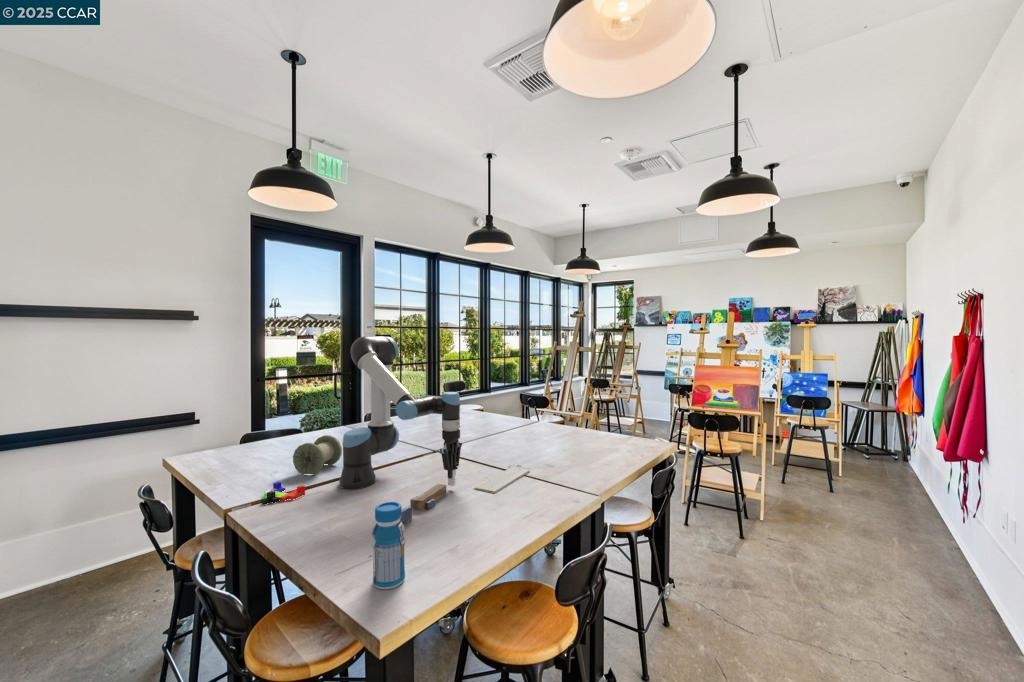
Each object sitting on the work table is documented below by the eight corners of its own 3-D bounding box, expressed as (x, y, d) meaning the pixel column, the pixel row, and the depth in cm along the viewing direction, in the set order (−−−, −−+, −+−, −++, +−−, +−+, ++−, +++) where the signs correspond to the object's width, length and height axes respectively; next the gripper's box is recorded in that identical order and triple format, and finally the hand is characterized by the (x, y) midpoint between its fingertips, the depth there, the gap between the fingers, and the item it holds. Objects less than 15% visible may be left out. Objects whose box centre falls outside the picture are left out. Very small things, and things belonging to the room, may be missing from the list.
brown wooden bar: (413, 510, 158) (412, 499, 158) (437, 493, 175) (437, 483, 175) (422, 511, 157) (422, 501, 157) (446, 494, 174) (446, 484, 174)
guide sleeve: (410, 505, 162) (410, 499, 162) (417, 502, 165) (417, 495, 165) (428, 509, 158) (428, 503, 158) (434, 506, 161) (434, 499, 161)
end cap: (377, 523, 146) (377, 510, 146) (393, 514, 154) (393, 502, 153) (396, 528, 143) (395, 515, 142) (412, 519, 150) (411, 506, 150)
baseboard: (470, 489, 180) (494, 495, 174) (470, 482, 179) (494, 488, 173) (507, 469, 206) (529, 473, 200) (507, 463, 206) (529, 467, 200)
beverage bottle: (383, 595, 106) (382, 515, 106) (366, 582, 112) (365, 506, 112) (412, 580, 112) (411, 505, 112) (394, 568, 118) (393, 497, 118)
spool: (314, 464, 215) (313, 434, 215) (341, 465, 213) (341, 435, 213) (293, 475, 199) (292, 443, 199) (322, 476, 197) (322, 444, 197)
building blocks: (249, 503, 167) (249, 492, 166) (277, 491, 179) (277, 481, 179) (278, 508, 162) (278, 496, 161) (305, 495, 174) (305, 485, 174)
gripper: (449, 433, 170) (449, 491, 171) (467, 426, 182) (467, 481, 182) (434, 431, 174) (434, 488, 174) (452, 425, 185) (453, 479, 186)
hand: (451, 485), depth 178 cm, fingers closed
